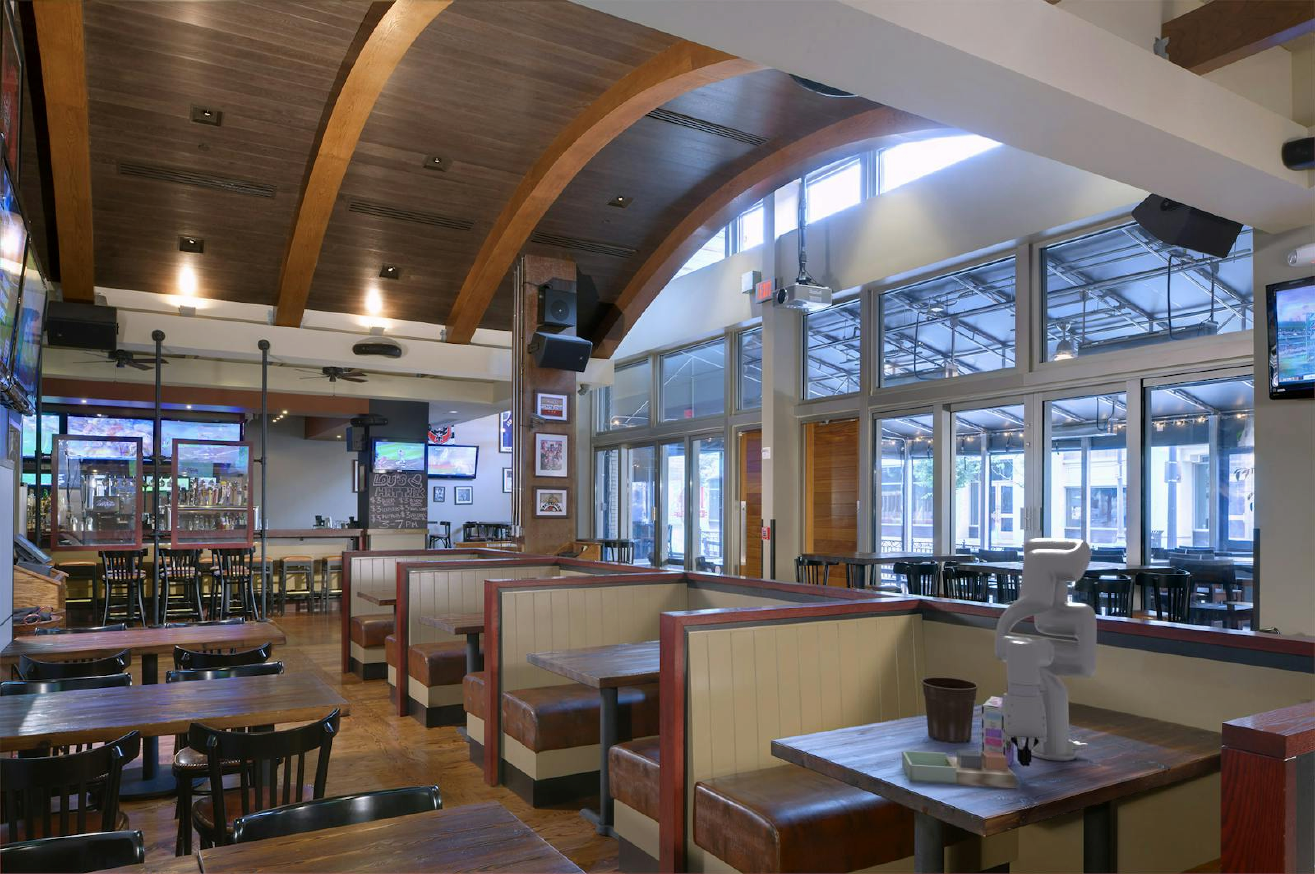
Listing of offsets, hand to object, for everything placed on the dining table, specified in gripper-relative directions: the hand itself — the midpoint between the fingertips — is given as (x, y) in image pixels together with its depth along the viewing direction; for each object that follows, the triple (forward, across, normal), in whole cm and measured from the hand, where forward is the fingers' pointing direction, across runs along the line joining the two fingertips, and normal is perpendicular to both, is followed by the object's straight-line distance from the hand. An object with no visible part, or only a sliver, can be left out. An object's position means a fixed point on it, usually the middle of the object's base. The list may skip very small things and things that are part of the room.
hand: (1024, 764), depth 211 cm
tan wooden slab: (+4, +11, 0) cm, 12 cm away
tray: (+4, +23, 0) cm, 24 cm away
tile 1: (+1, +13, 0) cm, 13 cm away
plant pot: (+4, +10, -38) cm, 40 cm away
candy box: (+4, +3, -14) cm, 15 cm away
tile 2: (+1, +7, 0) cm, 7 cm away
